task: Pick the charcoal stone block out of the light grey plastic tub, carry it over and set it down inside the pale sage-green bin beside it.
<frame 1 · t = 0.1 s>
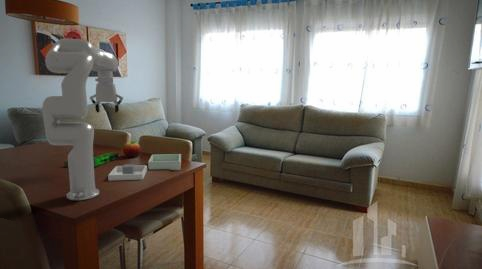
hand: (107, 112, 171), 31 cm above the table, tool pointing down, fingers open, 9 cm apart
stone block: (128, 175, 159), point 1 cm above the table, touching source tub
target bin: (165, 166, 179), on the table
fruit: (132, 156, 200), on the table
submachine gun: (88, 163, 184), on the table
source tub: (128, 176, 159), on the table
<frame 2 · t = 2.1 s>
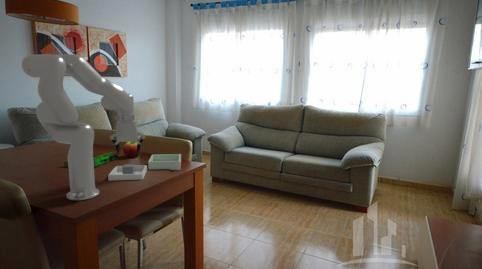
hand: (128, 151, 157), 13 cm above the table, tool pointing down, fingers open, 9 cm apart
nothing on the table moved.
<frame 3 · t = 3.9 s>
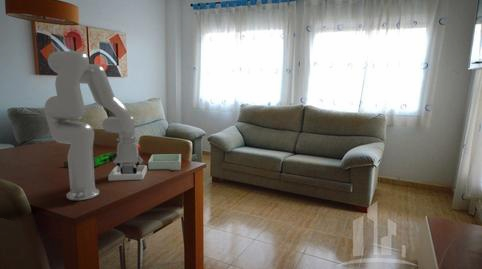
hand: (128, 174, 159), 1 cm above the table, tool pointing down, fingers closed on stone block, 5 cm apart
stone block: (128, 175, 159), point 1 cm above the table, touching gripper, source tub
everything else where it was.
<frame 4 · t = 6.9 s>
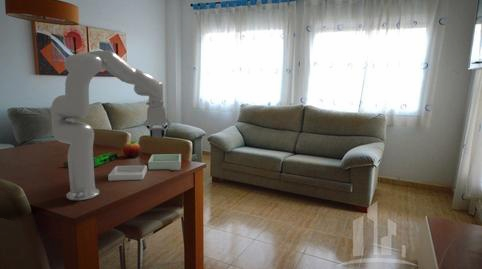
hand: (157, 136, 172), 18 cm above the table, tool pointing down, fingers closed on stone block, 5 cm apart
stone block: (157, 137, 172), point 18 cm above the table, touching gripper
everything else where it was.
when the fingers open (3 cm above the table, at t = 10.0 s): stone block drops 2 cm, resting on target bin.
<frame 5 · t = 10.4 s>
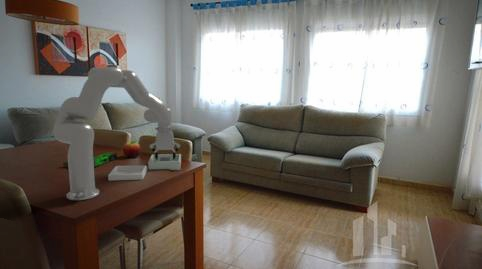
hand: (165, 159, 178), 4 cm above the table, tool pointing down, fingers open, 9 cm apart
stone block: (165, 164, 179), point 1 cm above the table, touching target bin
everything else where it was.
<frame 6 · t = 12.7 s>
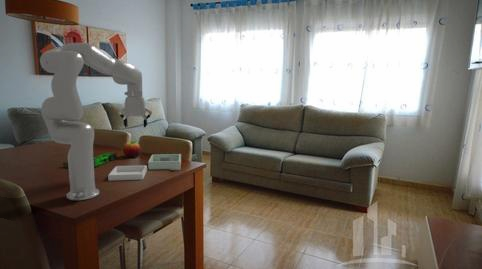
hand: (135, 127, 164), 24 cm above the table, tool pointing down, fingers open, 9 cm apart
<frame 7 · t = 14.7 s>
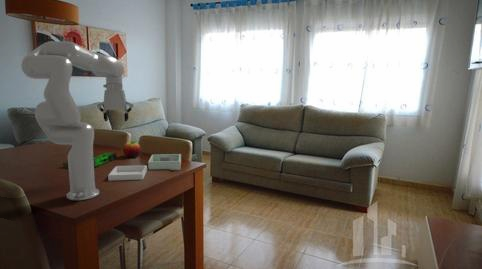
hand: (116, 120, 158), 28 cm above the table, tool pointing down, fingers open, 9 cm apart
at the end: stone block inside the target area on the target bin (0.0 cm from its centre), point 0.8 cm above the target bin's base; the gripper is holding nothing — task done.
